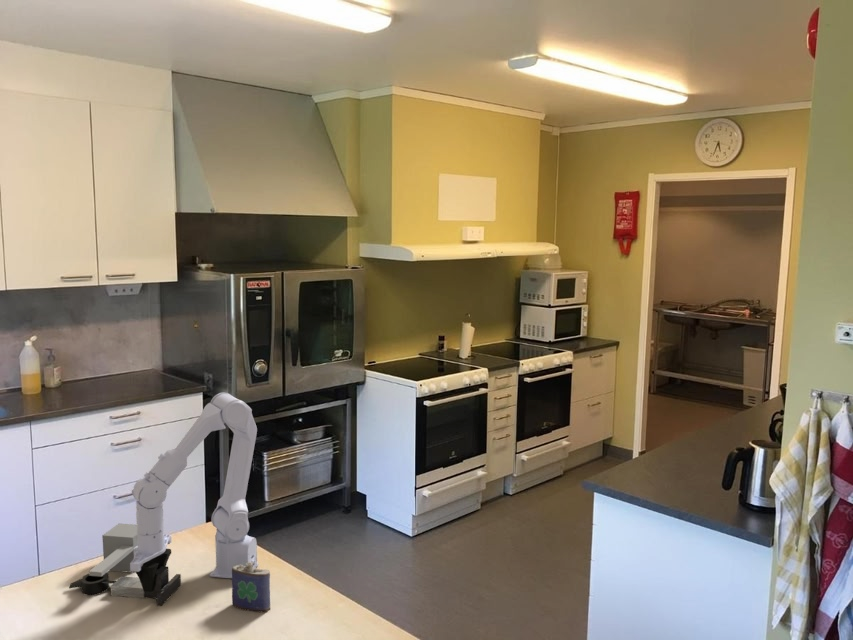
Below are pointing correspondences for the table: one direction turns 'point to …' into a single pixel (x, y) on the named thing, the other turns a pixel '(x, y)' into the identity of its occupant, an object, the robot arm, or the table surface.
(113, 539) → the grey cube mallet
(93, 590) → the black ring with tabs
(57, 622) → the table surface
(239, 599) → the flask
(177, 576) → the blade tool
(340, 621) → the table surface
